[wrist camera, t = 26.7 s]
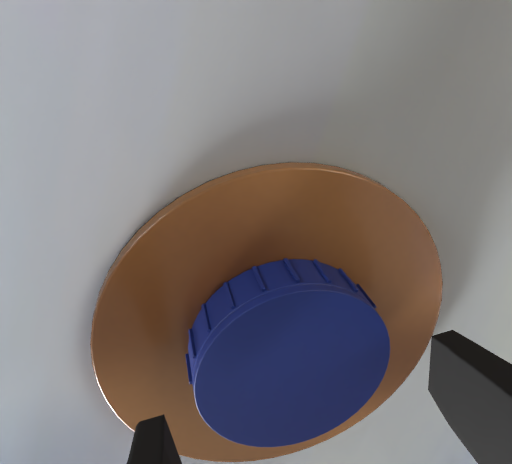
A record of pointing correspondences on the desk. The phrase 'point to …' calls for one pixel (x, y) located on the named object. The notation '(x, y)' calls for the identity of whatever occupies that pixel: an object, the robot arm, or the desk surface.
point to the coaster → (244, 258)
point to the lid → (285, 353)
